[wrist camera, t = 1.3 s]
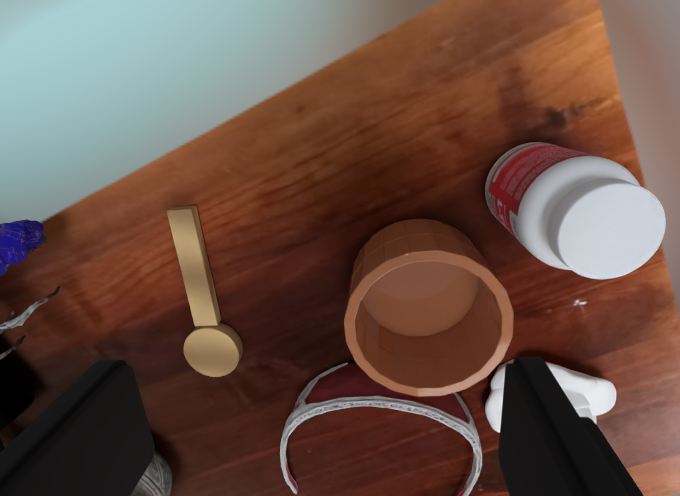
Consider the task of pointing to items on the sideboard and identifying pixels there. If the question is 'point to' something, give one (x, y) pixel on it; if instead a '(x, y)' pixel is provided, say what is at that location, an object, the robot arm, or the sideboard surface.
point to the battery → (12, 395)
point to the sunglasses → (359, 388)
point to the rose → (579, 388)
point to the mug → (155, 479)
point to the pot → (426, 310)
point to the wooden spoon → (202, 300)
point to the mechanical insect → (13, 247)
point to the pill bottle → (575, 209)
